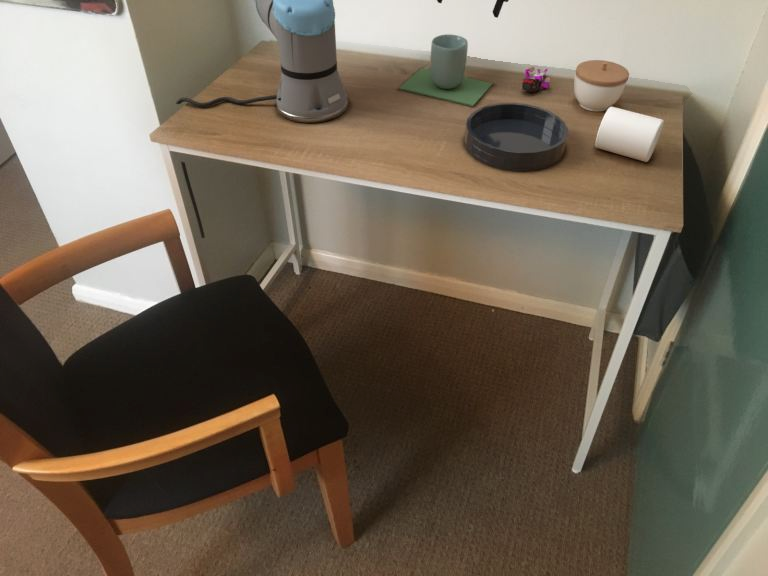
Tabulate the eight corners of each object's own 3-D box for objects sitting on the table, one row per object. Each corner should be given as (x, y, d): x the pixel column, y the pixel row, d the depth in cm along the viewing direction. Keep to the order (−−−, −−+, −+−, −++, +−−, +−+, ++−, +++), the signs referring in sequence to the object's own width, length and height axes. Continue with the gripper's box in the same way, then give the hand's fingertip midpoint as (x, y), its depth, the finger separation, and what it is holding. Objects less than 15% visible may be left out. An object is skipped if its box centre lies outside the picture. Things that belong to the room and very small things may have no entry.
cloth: (399, 89, 138) (399, 87, 138) (421, 69, 145) (421, 67, 145) (473, 106, 132) (473, 105, 131) (492, 84, 139) (492, 83, 139)
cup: (442, 74, 142) (445, 31, 135) (470, 84, 139) (474, 40, 132) (422, 86, 138) (424, 42, 131) (450, 96, 134) (454, 51, 127)
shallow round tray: (449, 155, 117) (450, 137, 115) (485, 112, 130) (487, 95, 127) (547, 181, 111) (551, 162, 108) (575, 134, 123) (579, 116, 120)
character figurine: (529, 77, 144) (515, 92, 135) (534, 55, 141) (520, 69, 132) (553, 83, 142) (540, 98, 134) (558, 61, 139) (546, 75, 131)
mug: (643, 169, 114) (656, 131, 108) (591, 154, 118) (601, 116, 112) (659, 141, 121) (673, 104, 116) (610, 128, 125) (620, 91, 119)
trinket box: (566, 112, 130) (576, 70, 123) (570, 90, 137) (580, 49, 131) (618, 120, 127) (631, 77, 121) (620, 97, 135) (632, 55, 128)
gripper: (559, -70, 130) (522, 28, 133) (453, -91, 137) (420, 1, 140) (557, -90, 123) (517, 13, 126) (445, -112, 130) (410, -13, 133)
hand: (466, 7), depth 133 cm, fingers open, 13 cm apart
